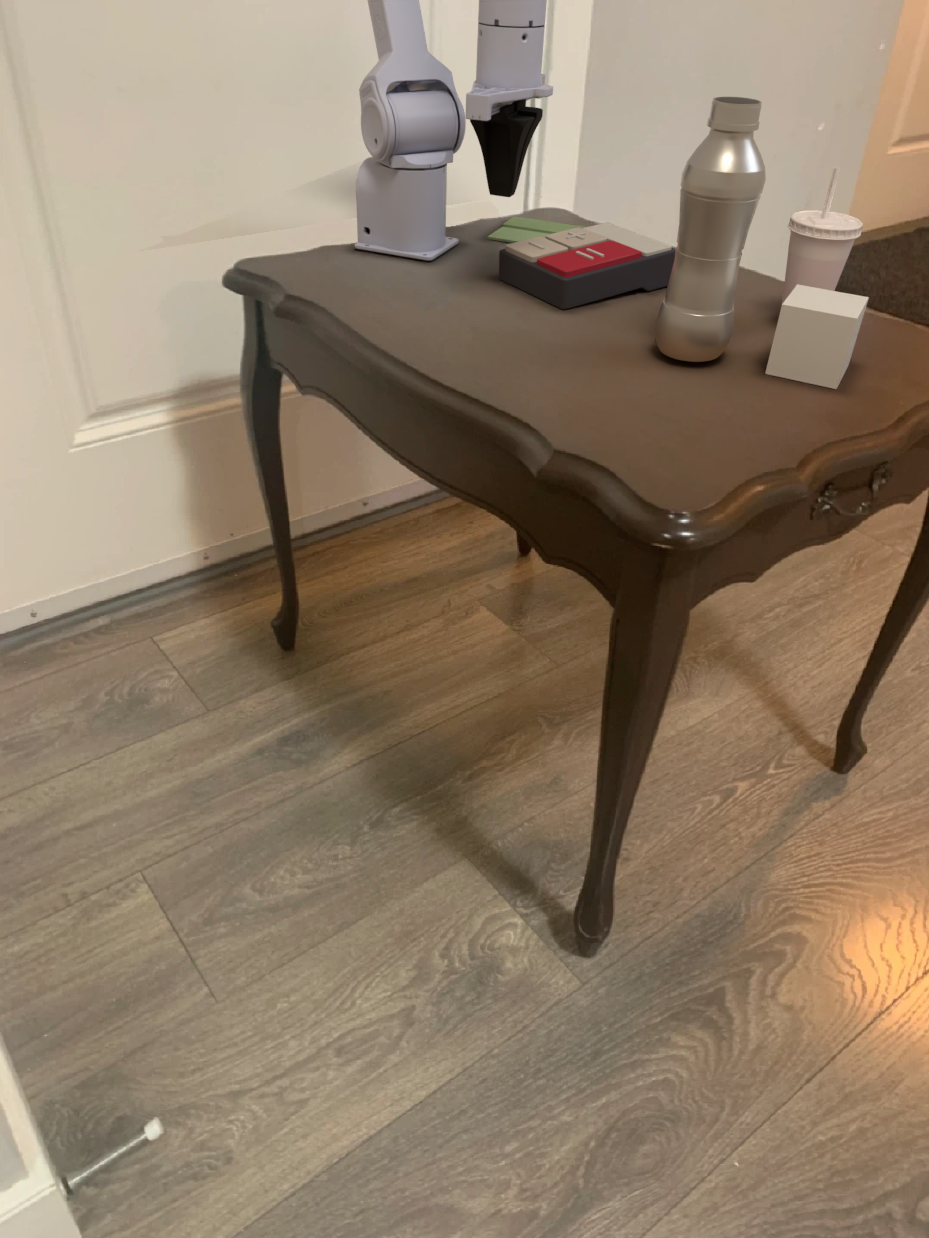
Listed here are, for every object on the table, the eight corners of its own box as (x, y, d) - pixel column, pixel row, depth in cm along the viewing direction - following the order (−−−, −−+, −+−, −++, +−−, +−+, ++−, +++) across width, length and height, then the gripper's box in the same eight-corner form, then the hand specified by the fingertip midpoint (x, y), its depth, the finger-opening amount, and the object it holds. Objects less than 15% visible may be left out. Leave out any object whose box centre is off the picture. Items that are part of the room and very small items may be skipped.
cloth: (487, 239, 109) (487, 234, 108) (514, 221, 115) (514, 215, 115) (602, 257, 105) (603, 251, 104) (623, 237, 111) (624, 232, 111)
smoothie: (753, 324, 89) (789, 165, 81) (785, 308, 93) (822, 155, 85) (815, 342, 86) (859, 179, 77) (845, 325, 90) (891, 168, 81)
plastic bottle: (636, 347, 83) (675, 95, 71) (699, 339, 86) (747, 92, 74) (676, 375, 79) (725, 110, 67) (742, 365, 81) (800, 106, 69)
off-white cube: (764, 374, 80) (781, 304, 76) (780, 351, 84) (796, 284, 80) (837, 389, 78) (857, 318, 74) (849, 365, 82) (869, 297, 78)
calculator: (497, 242, 95) (608, 216, 102) (496, 284, 98) (605, 256, 104) (565, 272, 88) (680, 242, 95) (562, 317, 91) (674, 284, 97)
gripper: (526, 36, 73) (514, 218, 81) (581, 21, 84) (566, 184, 92) (444, 29, 75) (441, 207, 83) (508, 15, 86) (499, 175, 94)
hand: (502, 194), depth 88 cm, fingers closed
